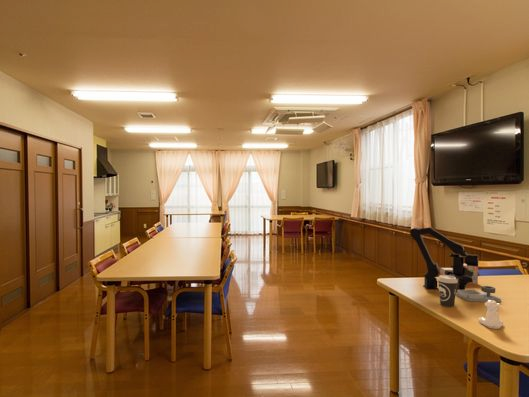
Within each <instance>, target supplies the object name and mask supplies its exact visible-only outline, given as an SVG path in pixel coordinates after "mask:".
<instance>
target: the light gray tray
mask: <svg viewBox="0 0 529 397" xmlns="http://www.w3.org/2000/svg"><path fill="white" fill-rule="evenodd" d="M455 296H457V297H459V298H461V299H463V300H465V301H466V302H487V301H488V300H494V301H496V302H502V298H500V297H497V296H496V295H493V294H492V293H486V292H482V291H481V292H480V291H478V290H475V289H465V290H457V293H456V294H455Z"/></svg>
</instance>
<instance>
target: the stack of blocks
mask: <svg viewBox="0 0 529 397" xmlns="http://www.w3.org/2000/svg"><path fill="white" fill-rule="evenodd" d="M464 267H465V268H467V270H468V271H471V272H474V274H473V276H472V277H471V278H472V279H473V282H470V283H467V284H466V285H469V284H470V285H478V284H479V279H478V278H479V277H478V276H479V266H478V267H476V266H467V264H465V263H464ZM446 270H453V268H452V267H440V273H439V276H440V275H445V271H446ZM466 276H467V275H466ZM469 277H470V276H469ZM457 281H459V278H457Z"/></svg>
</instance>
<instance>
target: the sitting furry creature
mask: <svg viewBox="0 0 529 397" xmlns="http://www.w3.org/2000/svg"><path fill="white" fill-rule="evenodd" d="M497 302H498V301H494V300H488V301H485V302H484V305H485V307H486V310H487V311H486V314H485V316H486V317H482V316H481V317H479V318H478V322H479V323H480V324H481V325H483V326H484V327H487V328H489V329H492V330H499V329H500V328H501V327H502V326H503V325H504V322H503V320H501V319H500V315H499V312H498V311H497V310H498V309H499V307H500V306H501V303H497Z"/></svg>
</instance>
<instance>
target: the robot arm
mask: <svg viewBox="0 0 529 397" xmlns="http://www.w3.org/2000/svg"><path fill="white" fill-rule="evenodd" d="M409 234H410V236H411V238H412V239H413V240H414V241H415V242H416V244H417V246H418V249H419V251H420V254H422V257H423V259H424V262H425V263H426V264H425V265H426V270H427V272H426V273H425V274H424V279H423V280H424V284H423V285H422V286H423V287H424V288H426V289H428V290H431V289H432V290H439V287H438V280H437V279H438V277H439V275H440V272H441V267H440V265H439V263H438V262H435V261H434V260H433V259H432V256H431V254H430V251H429V250H428V247H427V245H426V243H425V240H424V237H423V235H431V236H432V237H434V239H436V240H438V241H439V242H441V243H442V244H444V245H446V247H448V249H450V250H451V251H452V252H451V253H450V254H449V257H451V258H452V265H450V268H453V270H446V271H445V275H448V276H453V277H456V279H457V278H459V281H458V285H459V288H460V290H464V288H465V289H466V286H467V285H468V284H467V283H470V282H473V279H472V278H471V277H472V276H473V274H474V272H471V271H468V270H467V268H465V267H464V264H467V266H476V267H478V268H479V263H480V261H479V255H478V254H468V252H467V251H466V250H465V248H464V247H465V246H464V245H463V244H462V243H460V242H457V241H454V240H452V239H451V238H448V237H447V236H445V235H444V234H442V233H440V232H439V231H437V230H436V229H434V227H431V226H429V227H422V228H419V227H413V228H411V229H410V231H409ZM466 275H467V276H466ZM469 276H470V277H469Z"/></svg>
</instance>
